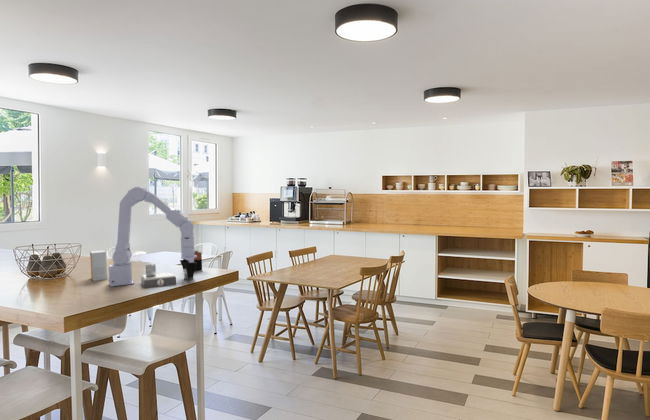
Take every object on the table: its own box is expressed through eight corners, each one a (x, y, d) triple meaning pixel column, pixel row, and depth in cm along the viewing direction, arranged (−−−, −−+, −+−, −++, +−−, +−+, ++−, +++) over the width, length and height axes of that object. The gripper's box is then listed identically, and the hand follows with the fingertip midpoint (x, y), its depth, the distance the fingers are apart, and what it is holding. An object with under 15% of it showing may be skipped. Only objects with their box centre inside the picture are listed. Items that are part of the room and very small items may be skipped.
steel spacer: (185, 280, 202) (184, 269, 202) (183, 279, 206) (183, 268, 205) (194, 279, 204) (193, 268, 204) (192, 277, 208) (192, 267, 207)
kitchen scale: (144, 288, 188) (144, 279, 188) (141, 283, 199) (140, 275, 198) (176, 284, 194) (176, 276, 194) (171, 279, 205) (171, 271, 205)
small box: (91, 278, 213) (89, 251, 213) (105, 276, 217) (104, 249, 216) (92, 280, 206) (91, 253, 206) (107, 279, 210) (106, 251, 209)
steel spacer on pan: (146, 277, 192) (146, 265, 192) (145, 276, 196) (145, 264, 196) (156, 276, 194) (156, 264, 194) (155, 275, 198) (154, 263, 198)
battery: (202, 270, 228) (201, 250, 228) (191, 272, 223) (190, 252, 222) (197, 269, 231) (196, 250, 230) (186, 271, 225) (185, 251, 225)
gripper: (200, 247, 200) (201, 277, 200) (193, 244, 213) (194, 272, 213) (183, 249, 196) (185, 279, 197) (177, 245, 209) (178, 274, 210)
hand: (188, 276), depth 205 cm, fingers open, 7 cm apart
